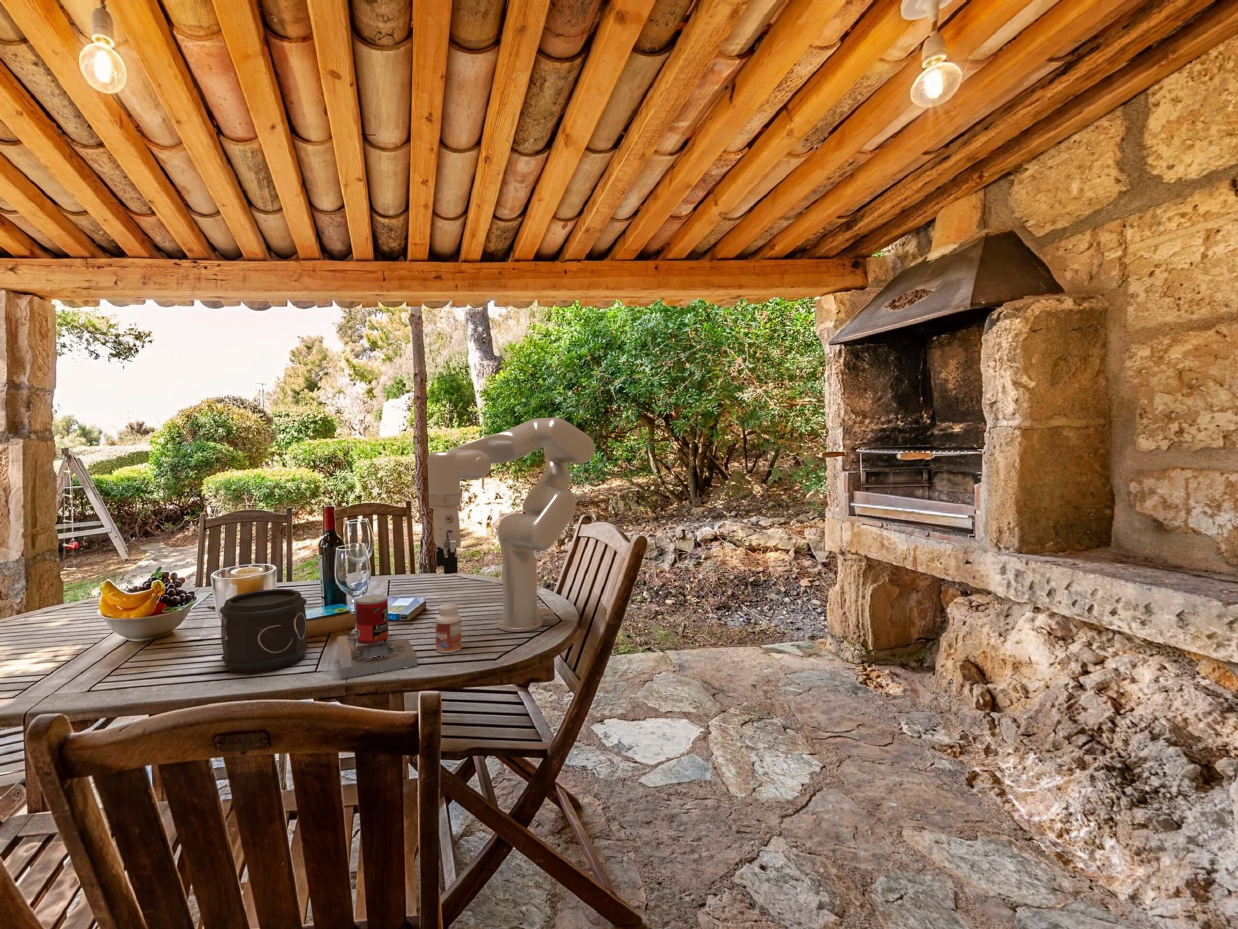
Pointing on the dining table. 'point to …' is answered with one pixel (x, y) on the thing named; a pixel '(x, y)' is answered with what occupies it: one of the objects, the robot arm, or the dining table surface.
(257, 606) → the chalk-marked storage tub
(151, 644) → the dining table surface
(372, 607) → the canned food
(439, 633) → the pill bottle
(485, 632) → the dining table surface
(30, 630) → the dining table surface
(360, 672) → the jig
